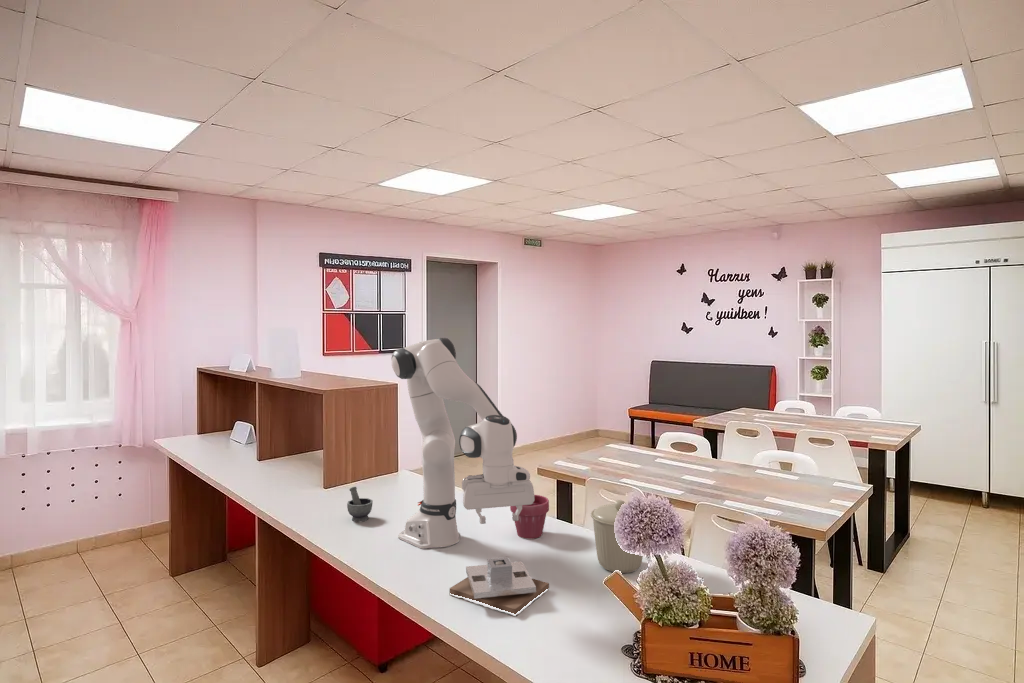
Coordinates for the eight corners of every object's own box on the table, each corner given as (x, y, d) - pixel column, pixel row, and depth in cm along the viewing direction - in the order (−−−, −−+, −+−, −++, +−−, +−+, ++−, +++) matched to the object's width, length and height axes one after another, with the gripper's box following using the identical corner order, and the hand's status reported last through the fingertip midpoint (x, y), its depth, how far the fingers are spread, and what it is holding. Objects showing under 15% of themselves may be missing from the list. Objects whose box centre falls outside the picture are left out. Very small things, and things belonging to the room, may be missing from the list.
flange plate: (474, 598, 152) (474, 578, 152) (466, 571, 169) (466, 553, 169) (536, 592, 156) (536, 572, 156) (521, 566, 172) (521, 548, 172)
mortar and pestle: (377, 519, 224) (377, 488, 223) (356, 525, 217) (356, 494, 216) (361, 512, 231) (361, 483, 231) (340, 518, 224) (340, 488, 224)
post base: (449, 595, 161) (449, 565, 161) (486, 571, 176) (486, 544, 176) (515, 616, 149) (515, 584, 149) (548, 589, 164) (548, 560, 164)
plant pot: (510, 527, 214) (510, 493, 214) (547, 527, 214) (547, 493, 214) (510, 542, 200) (510, 505, 200) (550, 542, 200) (550, 506, 200)
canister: (659, 565, 181) (659, 499, 180) (630, 585, 167) (630, 513, 166) (610, 550, 193) (610, 488, 192) (579, 567, 179) (579, 501, 178)
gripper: (463, 478, 156) (464, 528, 156) (535, 473, 160) (536, 522, 161) (460, 473, 162) (461, 521, 163) (530, 468, 166) (530, 515, 167)
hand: (499, 521), depth 162 cm, fingers open, 8 cm apart
